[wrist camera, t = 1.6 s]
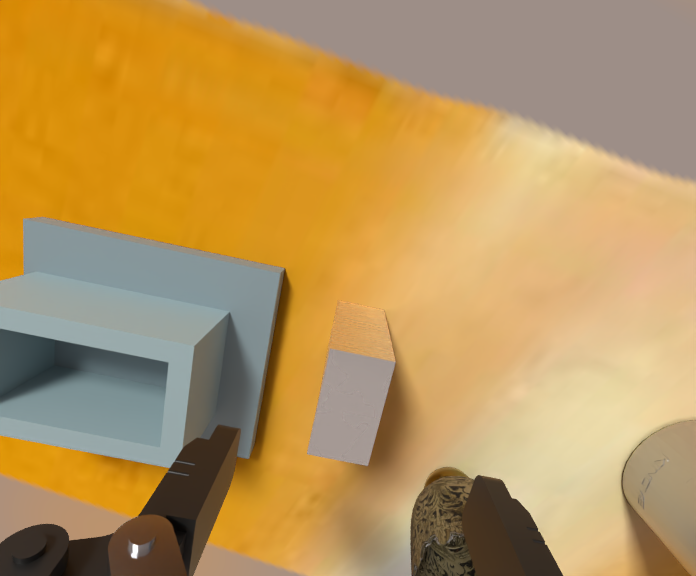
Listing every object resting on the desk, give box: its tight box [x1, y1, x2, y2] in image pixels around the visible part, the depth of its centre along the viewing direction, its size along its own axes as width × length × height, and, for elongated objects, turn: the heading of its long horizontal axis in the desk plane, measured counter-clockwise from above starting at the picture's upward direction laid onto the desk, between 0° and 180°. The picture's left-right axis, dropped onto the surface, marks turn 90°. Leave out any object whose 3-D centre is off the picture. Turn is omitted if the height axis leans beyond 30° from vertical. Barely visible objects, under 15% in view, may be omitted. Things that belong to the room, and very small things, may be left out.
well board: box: [0, 217, 285, 468], centre depth 23 cm, size 16×14×7 cm
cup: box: [411, 467, 477, 576], centre depth 25 cm, size 8×7×8 cm
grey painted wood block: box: [307, 300, 396, 466], centre depth 23 cm, size 3×6×8 cm, turn 168°
